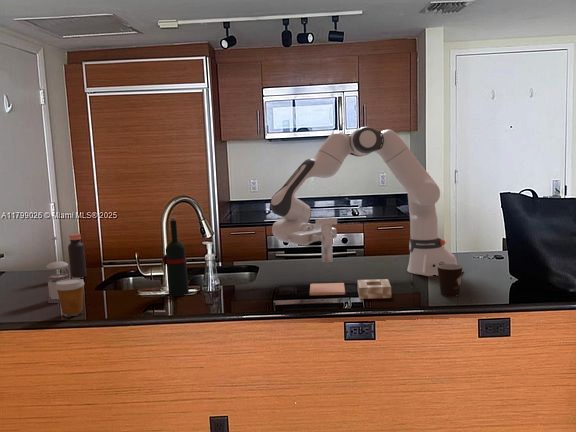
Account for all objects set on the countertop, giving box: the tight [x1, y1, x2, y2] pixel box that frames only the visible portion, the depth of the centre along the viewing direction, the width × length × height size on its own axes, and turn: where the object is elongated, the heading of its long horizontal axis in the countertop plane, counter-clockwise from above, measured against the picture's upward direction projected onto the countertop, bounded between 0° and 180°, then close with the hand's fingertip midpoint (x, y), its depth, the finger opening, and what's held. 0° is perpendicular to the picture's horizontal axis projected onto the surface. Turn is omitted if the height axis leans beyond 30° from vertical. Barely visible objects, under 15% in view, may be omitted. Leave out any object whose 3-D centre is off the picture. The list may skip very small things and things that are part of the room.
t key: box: [315, 217, 338, 263], centre depth 202 cm, size 8×4×16 cm, turn 86°
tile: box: [309, 282, 346, 296], centre depth 205 cm, size 13×13×1 cm
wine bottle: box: [161, 216, 190, 297], centre depth 208 cm, size 8×10×30 cm
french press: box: [45, 236, 71, 299], centre depth 208 cm, size 10×12×25 cm
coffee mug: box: [437, 263, 464, 297], centre depth 192 cm, size 12×9×10 cm
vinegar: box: [67, 233, 88, 277], centre depth 245 cm, size 7×7×20 cm
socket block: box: [357, 278, 392, 300], centre depth 196 cm, size 11×11×4 cm
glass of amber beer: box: [55, 278, 85, 314], centre depth 188 cm, size 10×10×12 cm
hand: (328, 237), depth 201 cm, fingers closed on t key, 4 cm apart
